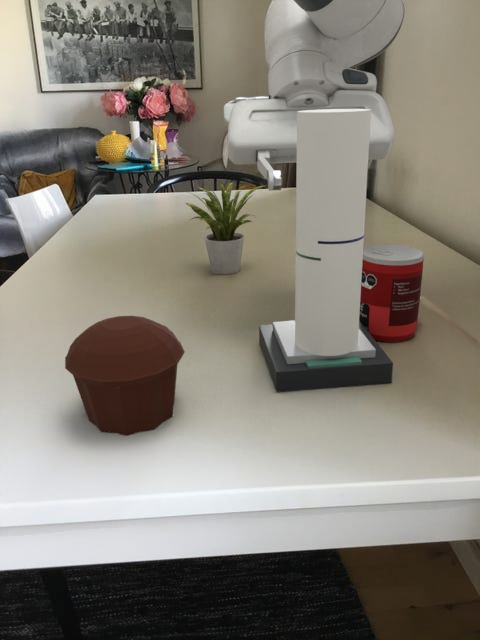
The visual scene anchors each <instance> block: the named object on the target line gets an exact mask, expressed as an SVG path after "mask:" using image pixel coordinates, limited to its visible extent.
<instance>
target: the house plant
mask: <svg viewBox="0 0 480 640" xmlns="http://www.w3.org/2000/svg"><path fill="white" fill-rule="evenodd" d="M219 182H220V187H221V200H222V203H221V202H220V200H219V198H218V196H217V195H216V193H215V192H214V191H213V189H211V188H210V187H209V186H208V185H206V187H207V188H208V189H209V190H208V189H206V188H203V187H201V186H200V187H199V186H197V189H200V190H202V191H203V192H204V194H206V196H207V197H208V198H209V199H210V200H209V199H208V198H204V197H199V196H198V195H196V194H194V193H192V192H187V193H188V194H191V195H193V196H195V198H197V199H198V200H199V201H201V203H202V204H203V205H204V206H205V207H206V209H207V210H208V211H209V212H210V214H211V215H212V216H213V217H212V216H211V215H210V214H209V213H208V212H207V211H206V210H204V209H202V208H201V207H199V206H197V205H195V204H193V203H189V202H185V204H186V206H187V207H190V208H191V210H192V211H193V212H194V213H195V214H197V216H194V217H192V218H191V219H190V221H192V220H193V219H195V220H197V219H198V220H200V221H205V222H206V224H207V227H206V228H205V230H208V229H210V230H211V232H212V233H209V234H206V235H205V236H204V242H205V247H206V250H207V255H208V260H209V265H210V270H211V272H212V273H214V274H217V275H232V274H235V273H238V272H240V270H241V264H242V256H243V248H244V240H245V236H244V234H242V233H240V232H236V230H237V229H238V228H239V227H240V226H243V225H244V224H248V223H254V221H252V220H250V219H246V218H248V217H251V216H252V217H255V215H253V214H249V213H244V214H242V215H241V216H240V217H238V215H239V213H240V211H241V209H242V208H244V206H245V205H246V203H247V202H248V201H249V200H250V199H251V198H252V197H253V196H254V195H255V193H253V192H256V190H258V189H260V188H264V187H268V184H267V185H259V186H256V187H253V188H252V189H250V190H248V191H247V192H246V193H244V195H243V197H242V198H240V201H239V202H238V200H239V197H240V193H241V192H242V191H241V189H243V188H246V187H247V186H246V185H244V186H241V187H239V188H238V189H237V190H236V192H235V194H234V196H233V198H232V199H231V196H232V195H231V194H232V190H233V184H234V182H233V181H232V182H229V183H228V184H227V187H226V190H225V186H224V184H223V182H222V181H221V180H220V181H219ZM202 184H204V185H205V183H204V182H202ZM252 193H253V194H252ZM221 204H222V205H221ZM237 217H238V219H237Z"/></svg>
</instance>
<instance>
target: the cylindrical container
mask: <svg viewBox="0 0 480 640" xmlns="http://www.w3.org/2000/svg"><path fill="white" fill-rule="evenodd" d="M370 119H371V109H319V110H303V111H297V162H296V171H295V172H296V174H295V175H296V178H295V179H296V182H295V186H296V187H295V189H296V190H295V191H296V192H295V280H294V281H295V282H294V283H295V285H294V287H295V289H294V291H295V294H294V295H295V296H294V320H295V344H296V346H297V347H298V348H299V349H300V350H302V351H304V352H307V353H310V354H314V355H320V356H337V355H343V354H347V353H349V352H352V351H353V350H355V349H356V348H357V345H358V332H359V314H360V296H361V279H362V261H363V248H364V241H365V239H364V238H365V236H364V235H365V224H366V223H365V222H366V208H367V207H366V205H367V204H366V203H367V189H368V169H369V160H368V154H369V136H370Z"/></svg>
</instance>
